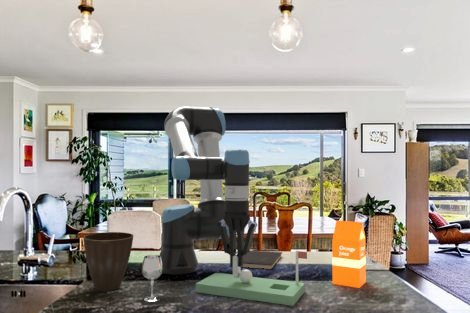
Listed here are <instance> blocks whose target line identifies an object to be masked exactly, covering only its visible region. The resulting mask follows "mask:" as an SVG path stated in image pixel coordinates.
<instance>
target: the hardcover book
mask: <svg viewBox="0 0 470 313" xmlns="http://www.w3.org/2000/svg"><path fill="white" fill-rule="evenodd" d="M282 255H283V251H281V252H280V251H266V250H265V251H264V250H251V249H250V251H249V253H248V254H246V255H244V256H243V266H242V267H241V268H248V267H249V268H250V269H252V268H253V269H262V268H264V270H271V269H272V268H273V267H274V266H275V265H276V264H275V263H277V262H278V261H279V260H280V259H281V258H282ZM229 265H230V264H229ZM230 267H232V266H231V265H230Z"/></svg>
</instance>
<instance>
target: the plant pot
mask: <svg viewBox="0 0 470 313" xmlns="http://www.w3.org/2000/svg"><path fill="white" fill-rule="evenodd" d="M133 241H134V234H133V233H130V232H122V231H121V232H119V231H117V232H116V231H107V232H96V233H89V234H86V235H84V236H83V245H84V254H85V259H86V263H87V267H88V272H89V275H90V278H91V280H92V284H93V287H94V288H95V290H97V291H100V292H101V291H102V292H103V291H104V292H106V291H107V292H108V291H115V290H117V289H119V288H120V287H121V285H122V283H123V279H124V278H125V275H126V272H127V271H126V270H127V267H128V264H129V261H130V257H131V252H132V247H133Z"/></svg>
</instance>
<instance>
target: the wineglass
mask: <svg viewBox="0 0 470 313" xmlns="http://www.w3.org/2000/svg"><path fill="white" fill-rule="evenodd" d="M159 255H160V254H150V255H144V257H143V260H142V264H141V273H142V276H143V277H144V278H146V279H148V280H150V287H151V289H150V292H151V294H150V296H147V297H145V298H144V299H143V301H144V302H146V303H147V302H148V303H154V302H158V301H160V299H161V298H160V296H155V295H154V285H155V281H154V280H157V279H158V278H160V277H161V276H162V275H163V273H162V270H163V265H162V259H161V256H159Z"/></svg>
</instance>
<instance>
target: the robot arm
mask: <svg viewBox="0 0 470 313" xmlns="http://www.w3.org/2000/svg"><path fill="white" fill-rule="evenodd" d="M163 127H164V128H163V129H164V132H165V134H166V136H167V137H168V138H169V140H170V143H171V144H170V145H171V147H172V151H173V154H174V156H173V157H172V160H171V175H172V178H173V179H174V180H177V181H178V180H180V181H199V184H200V199H201V200H199V202H198V203H197V207H195V206H194V204H193V203H192V204H190V203H188V204H179V205H178V204H177V205H172V206H168V207H166V208H164V209H163V210H162V212H161V222H160V223H161V250H160V252H159V254H158V255H159V256H161V259H162V265H163V270H162V274H165V275H186V274H192V273H195V272H197V271H199V262H198V258H197V254H196V251H195V247H194V241H196V240H197V241H198V240H221V243H222V248H223V252H224V254H228V255H229V265H231V266H230V267H232V275H233V278H239V274H240V272H241V271H242V270H241V269H242V268H243V267H242V266H243V256H244V255H246V254H248V253H249V251H250V250H251V246H252V242H253V238H254V233H255V230H256V229H257V227H258V223H257V222H254V221H253V220H252V219H251V217H250V201H249V200H248V199H249V198H250V163H251V162H250V154H249V150H247V149H233V148H232V149H230V148H229V149H226V150H225V152H224V156H220V154H221V153H220V142H221V140H222V138H223V136H224V135H225V134H226V128H227V127H226V119H225V114H224V112H223V111H222V110H221V109H220V108H218V107H211V106H208V107H202V106H189V105H188V106H187V105H186V106H179V107H177V108H175V109H173V110H172V111H171V112H169V113H168V115H167V116H166V118H165V120H164V124H163ZM192 136H193V137H192ZM192 138H193V139H192ZM194 143H195V144H197V149H196V147H195V144H194ZM223 181H224V189H223ZM246 228H248V229H247V232H246V231H245V230H246ZM245 232H246V236H245Z"/></svg>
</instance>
